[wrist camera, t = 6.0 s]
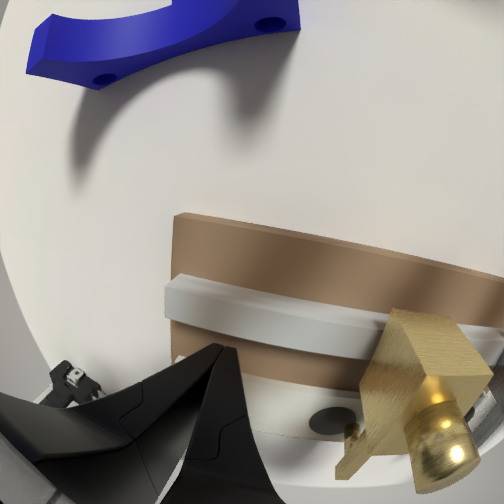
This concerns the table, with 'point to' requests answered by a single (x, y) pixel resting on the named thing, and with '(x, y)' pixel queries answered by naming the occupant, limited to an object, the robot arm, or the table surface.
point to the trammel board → (322, 283)
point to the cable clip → (148, 37)
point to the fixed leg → (500, 386)
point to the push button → (69, 388)
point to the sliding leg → (419, 401)
